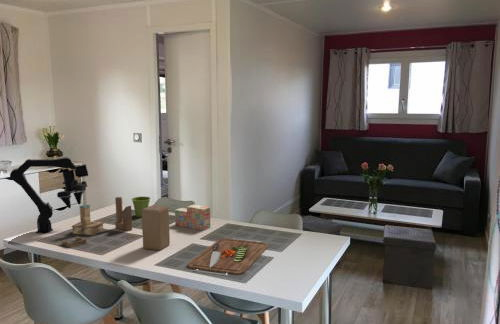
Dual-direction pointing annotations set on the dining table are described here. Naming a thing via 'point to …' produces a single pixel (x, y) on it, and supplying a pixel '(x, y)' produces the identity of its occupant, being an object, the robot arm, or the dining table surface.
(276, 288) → the dining table surface
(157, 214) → the wooden block
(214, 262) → the chopping board
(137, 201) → the plant pot
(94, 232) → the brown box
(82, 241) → the frame
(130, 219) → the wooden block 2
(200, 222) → the stack of blocks
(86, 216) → the teal long block
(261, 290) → the dining table surface
